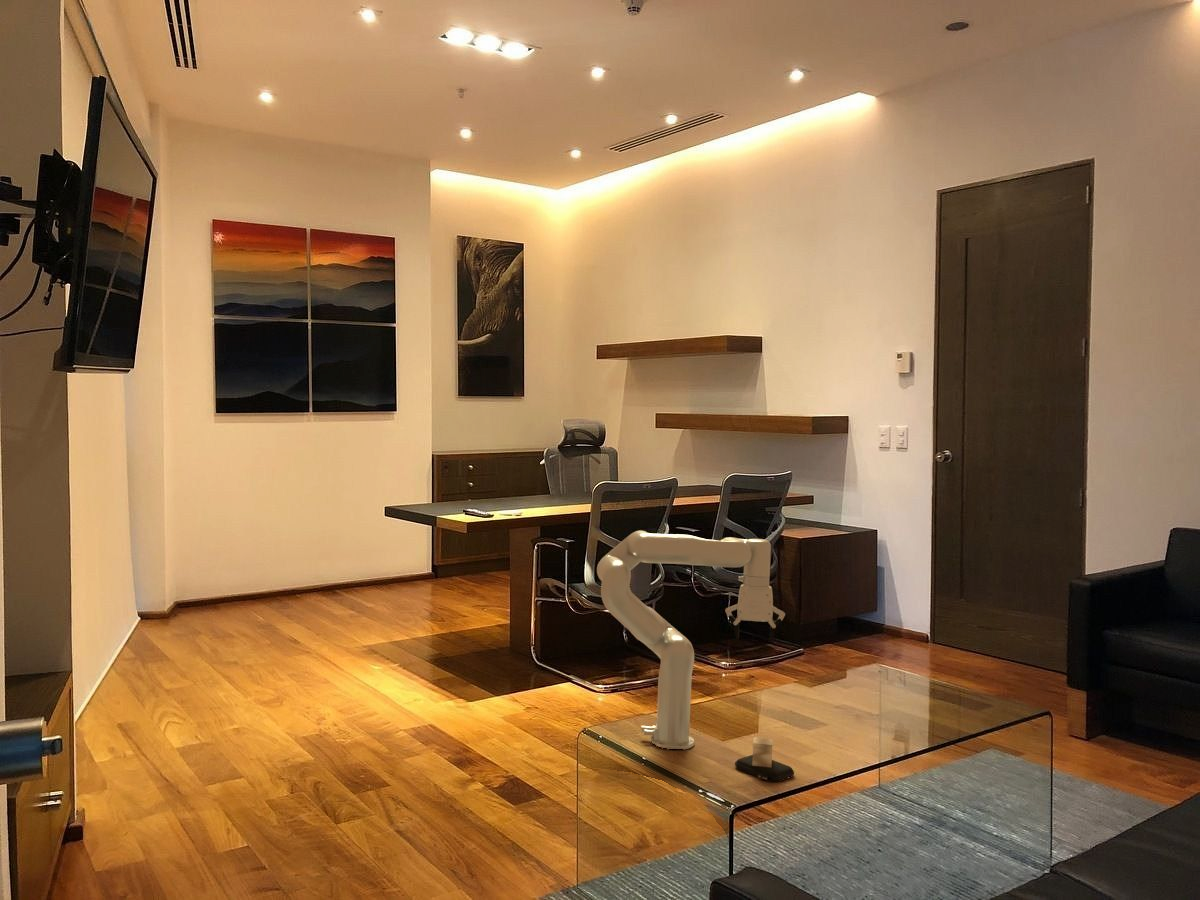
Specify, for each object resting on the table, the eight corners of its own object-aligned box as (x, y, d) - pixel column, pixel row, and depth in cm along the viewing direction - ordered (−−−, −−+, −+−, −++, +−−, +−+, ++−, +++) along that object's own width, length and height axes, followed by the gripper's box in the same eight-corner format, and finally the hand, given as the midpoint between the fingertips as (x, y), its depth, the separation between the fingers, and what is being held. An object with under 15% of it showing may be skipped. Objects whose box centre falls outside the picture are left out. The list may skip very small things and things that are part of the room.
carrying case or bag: (728, 770, 255) (771, 787, 243) (729, 759, 255) (772, 775, 243) (754, 762, 262) (797, 778, 250) (754, 751, 262) (797, 767, 250)
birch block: (752, 765, 250) (753, 743, 250) (753, 759, 255) (753, 737, 255) (771, 767, 249) (772, 745, 249) (771, 761, 254) (772, 738, 254)
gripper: (725, 581, 274) (723, 639, 274) (786, 585, 271) (784, 644, 271) (727, 577, 281) (724, 634, 282) (786, 581, 278) (783, 639, 278)
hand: (753, 639), depth 276 cm, fingers open, 9 cm apart
